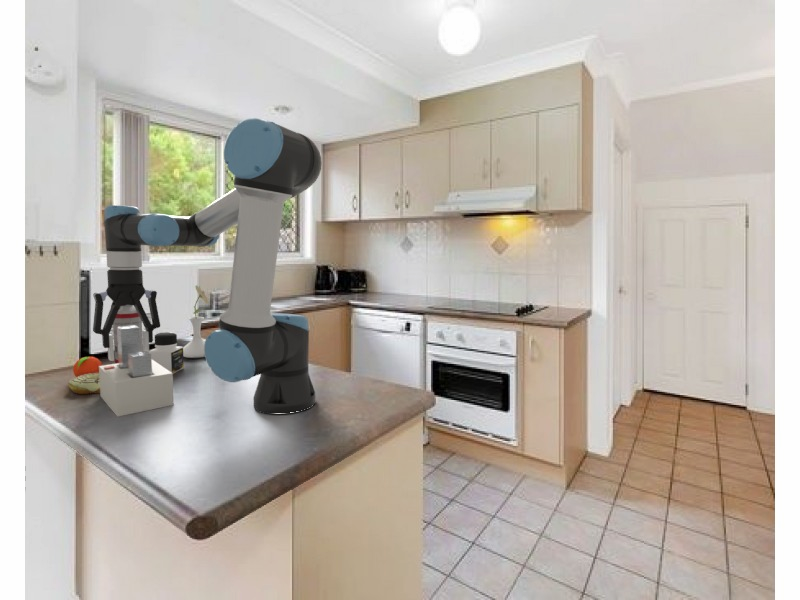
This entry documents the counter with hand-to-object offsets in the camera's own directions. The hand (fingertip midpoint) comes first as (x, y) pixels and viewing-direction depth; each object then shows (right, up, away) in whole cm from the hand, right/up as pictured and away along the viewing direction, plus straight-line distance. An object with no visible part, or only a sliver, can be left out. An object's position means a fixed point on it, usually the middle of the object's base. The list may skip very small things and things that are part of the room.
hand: (129, 357), depth 115 cm
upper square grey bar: (0, -10, +1) cm, 10 cm away
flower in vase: (-2, -5, +43) cm, 43 cm away
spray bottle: (-17, -6, +29) cm, 34 cm away
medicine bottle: (-3, -7, +24) cm, 25 cm away
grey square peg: (+7, -11, -6) cm, 14 cm away
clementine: (-19, -9, +12) cm, 24 cm away
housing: (+3, -11, -2) cm, 11 cm away
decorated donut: (-13, -10, +6) cm, 17 cm away
